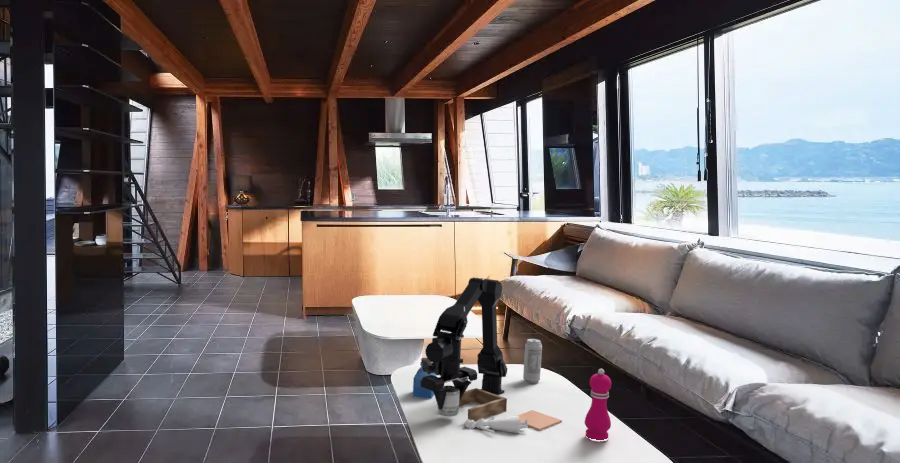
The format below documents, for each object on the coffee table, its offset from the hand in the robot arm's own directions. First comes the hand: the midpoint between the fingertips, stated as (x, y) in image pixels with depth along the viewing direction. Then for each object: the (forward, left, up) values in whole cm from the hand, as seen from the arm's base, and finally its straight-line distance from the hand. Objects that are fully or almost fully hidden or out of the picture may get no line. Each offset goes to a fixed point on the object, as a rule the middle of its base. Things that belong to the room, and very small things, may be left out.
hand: (448, 406), depth 192 cm
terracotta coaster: (-20, +18, -4) cm, 27 cm away
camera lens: (0, 0, -2) cm, 2 cm away
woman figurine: (-6, +14, -4) cm, 16 cm away
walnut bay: (-11, 0, -4) cm, 12 cm away
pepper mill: (-23, +37, -4) cm, 43 cm away
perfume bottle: (-10, -20, -4) cm, 23 cm away
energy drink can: (-51, -7, -4) cm, 52 cm away
